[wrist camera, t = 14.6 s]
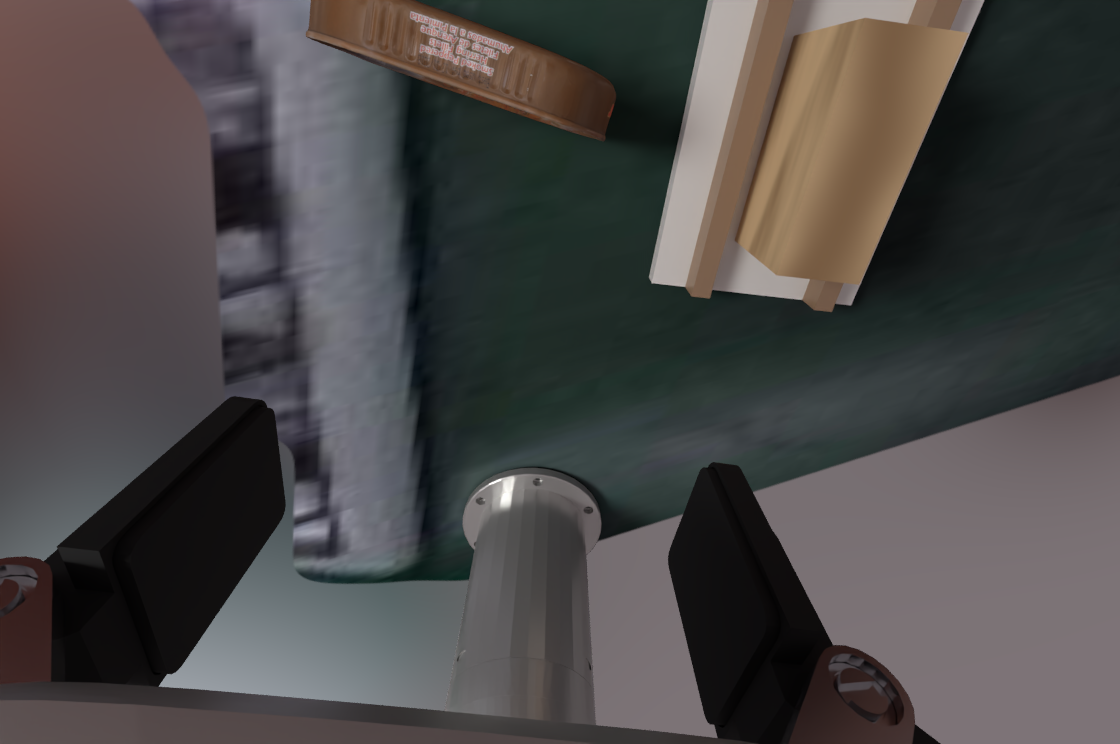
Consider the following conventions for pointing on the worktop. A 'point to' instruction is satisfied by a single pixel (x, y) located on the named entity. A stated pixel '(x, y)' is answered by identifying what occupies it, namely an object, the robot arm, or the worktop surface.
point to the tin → (467, 60)
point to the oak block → (842, 144)
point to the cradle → (753, 137)
